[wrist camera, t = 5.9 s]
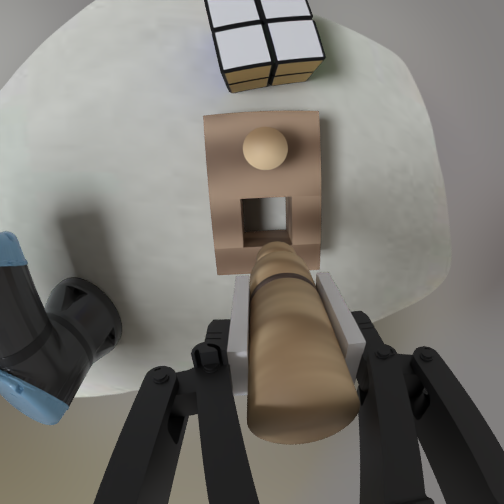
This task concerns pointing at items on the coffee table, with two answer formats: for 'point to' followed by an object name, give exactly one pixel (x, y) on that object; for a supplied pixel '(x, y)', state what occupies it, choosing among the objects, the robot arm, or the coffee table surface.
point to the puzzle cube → (264, 42)
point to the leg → (293, 355)
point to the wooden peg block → (263, 182)
